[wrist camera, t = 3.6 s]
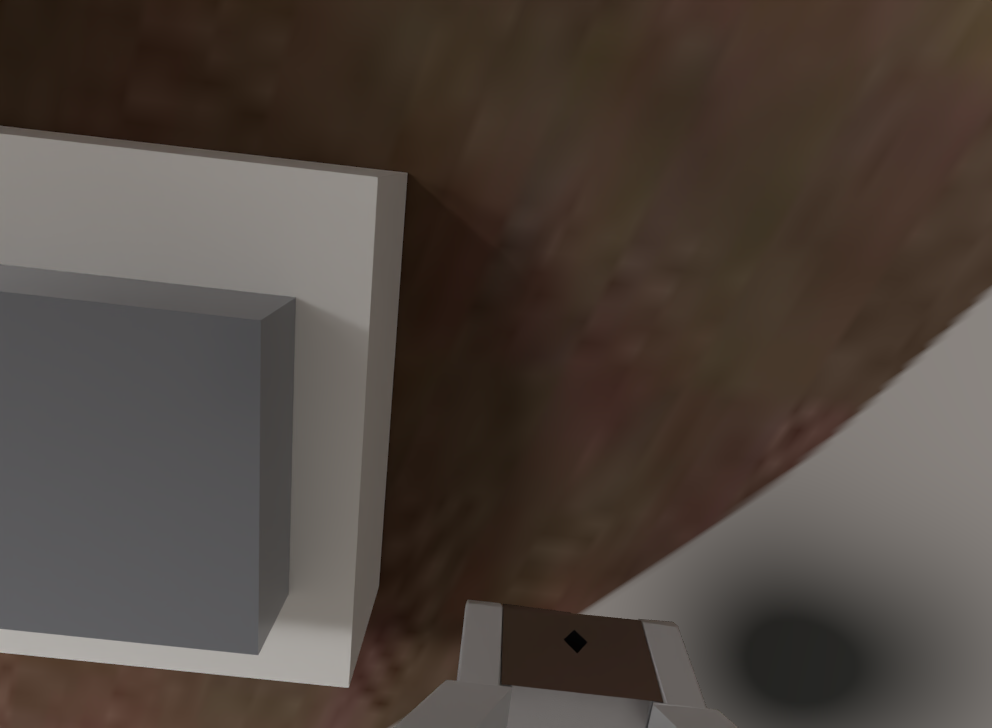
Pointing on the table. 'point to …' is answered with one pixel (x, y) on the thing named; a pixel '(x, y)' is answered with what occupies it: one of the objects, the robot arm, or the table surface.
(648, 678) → the robot arm
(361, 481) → the block
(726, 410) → the table surface
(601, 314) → the table surface
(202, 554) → the gray flat block
